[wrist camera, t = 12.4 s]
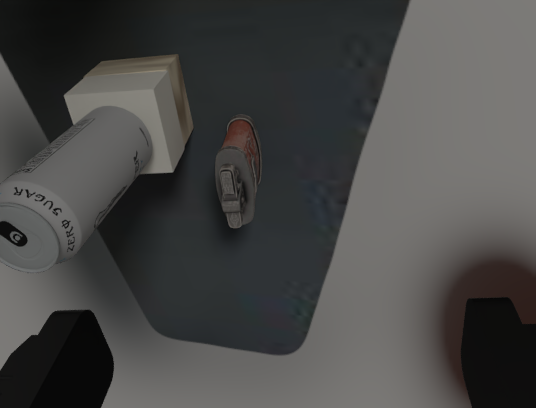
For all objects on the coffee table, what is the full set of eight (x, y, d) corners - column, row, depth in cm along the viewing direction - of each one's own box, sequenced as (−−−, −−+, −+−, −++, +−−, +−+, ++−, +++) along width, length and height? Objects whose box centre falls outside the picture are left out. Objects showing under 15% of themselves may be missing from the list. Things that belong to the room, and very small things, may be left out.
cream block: (85, 76, 44) (63, 95, 40) (168, 70, 43) (153, 89, 39) (108, 152, 48) (91, 176, 44) (184, 148, 47) (173, 172, 43)
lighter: (265, 183, 53) (255, 240, 45) (234, 185, 54) (219, 241, 46) (257, 113, 49) (244, 162, 41) (223, 115, 50) (203, 164, 41)
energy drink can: (130, 181, 44) (38, 296, 31) (73, 134, 42) (-49, 235, 29) (170, 137, 41) (87, 244, 28) (111, 86, 39) (-5, 174, 27)
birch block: (102, 60, 48) (83, 76, 44) (178, 53, 47) (165, 69, 43) (123, 132, 52) (108, 152, 48) (193, 127, 51) (183, 147, 47)
